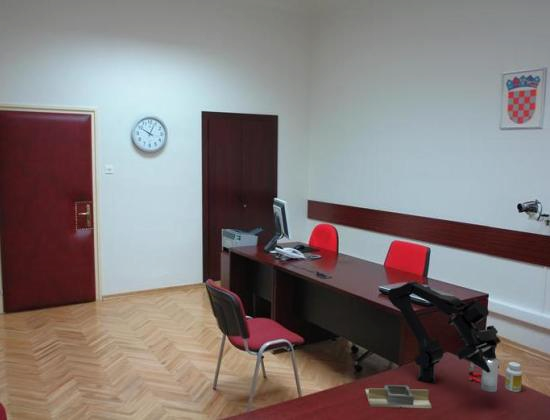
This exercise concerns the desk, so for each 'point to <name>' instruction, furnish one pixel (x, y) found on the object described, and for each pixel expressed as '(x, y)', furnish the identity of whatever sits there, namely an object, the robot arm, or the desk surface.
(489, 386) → the silver metal cylinder
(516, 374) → the supplement bottle
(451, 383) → the desk surface
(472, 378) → the tow hook
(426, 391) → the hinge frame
